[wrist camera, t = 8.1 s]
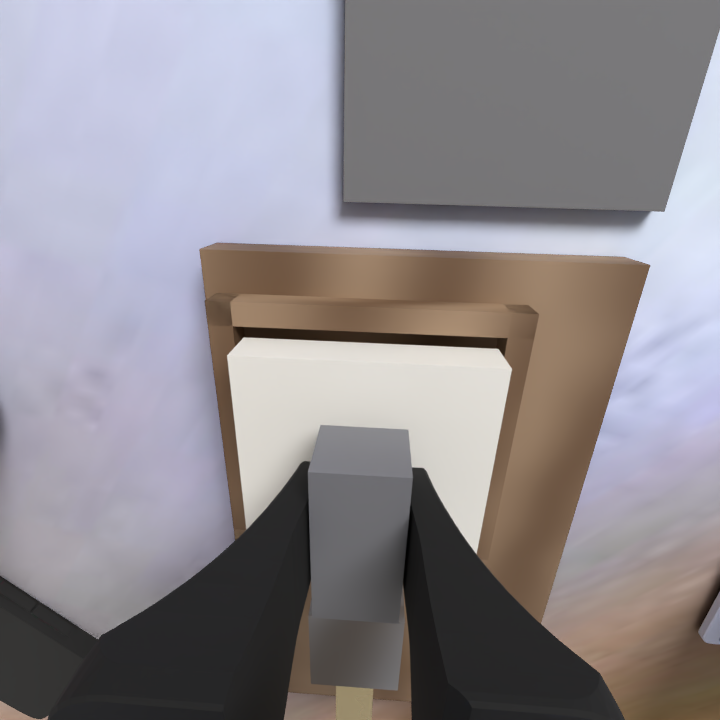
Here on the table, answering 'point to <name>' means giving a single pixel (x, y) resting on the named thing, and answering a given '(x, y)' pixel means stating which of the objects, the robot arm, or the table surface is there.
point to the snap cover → (366, 450)
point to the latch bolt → (353, 703)
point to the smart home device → (36, 652)
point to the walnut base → (451, 329)
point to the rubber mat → (522, 100)
